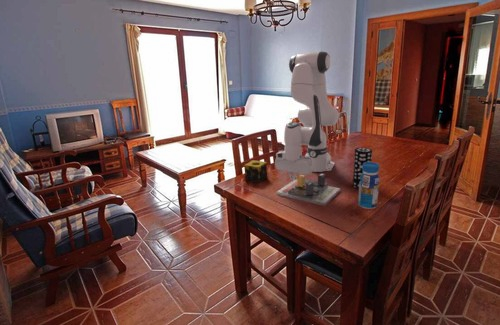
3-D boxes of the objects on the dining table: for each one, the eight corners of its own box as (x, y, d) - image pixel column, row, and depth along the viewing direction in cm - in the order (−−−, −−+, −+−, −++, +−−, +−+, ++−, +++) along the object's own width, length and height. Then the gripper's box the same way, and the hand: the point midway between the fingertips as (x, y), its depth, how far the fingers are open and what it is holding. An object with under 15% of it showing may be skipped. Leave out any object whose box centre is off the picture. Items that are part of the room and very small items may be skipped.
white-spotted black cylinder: (349, 184, 158) (351, 149, 151) (361, 182, 160) (364, 146, 154) (359, 190, 150) (362, 152, 144) (372, 187, 153) (375, 150, 147)
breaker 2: (308, 191, 143) (309, 181, 142) (313, 192, 142) (313, 182, 140) (305, 194, 141) (305, 184, 139) (310, 195, 139) (310, 185, 138)
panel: (295, 181, 165) (295, 177, 164) (339, 191, 150) (340, 185, 149) (276, 194, 150) (276, 189, 149) (324, 206, 135) (324, 200, 134)
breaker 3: (320, 182, 154) (320, 173, 152) (324, 183, 153) (325, 173, 151) (317, 184, 151) (317, 175, 150) (322, 185, 150) (322, 176, 148)
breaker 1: (300, 183, 153) (300, 174, 152) (305, 184, 152) (305, 175, 150) (297, 186, 151) (297, 176, 149) (301, 187, 149) (301, 177, 148)
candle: (253, 175, 179) (252, 159, 176) (267, 177, 174) (267, 161, 171) (244, 180, 171) (243, 164, 168) (259, 183, 166) (258, 166, 163)
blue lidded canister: (354, 202, 137) (357, 161, 131) (372, 200, 138) (375, 160, 132) (362, 210, 129) (365, 167, 123) (381, 208, 130) (385, 166, 124)
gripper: (314, 155, 145) (314, 181, 150) (279, 150, 157) (279, 174, 162) (308, 158, 141) (308, 185, 145) (273, 153, 153) (273, 178, 157)
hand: (293, 179), depth 153 cm, fingers closed
